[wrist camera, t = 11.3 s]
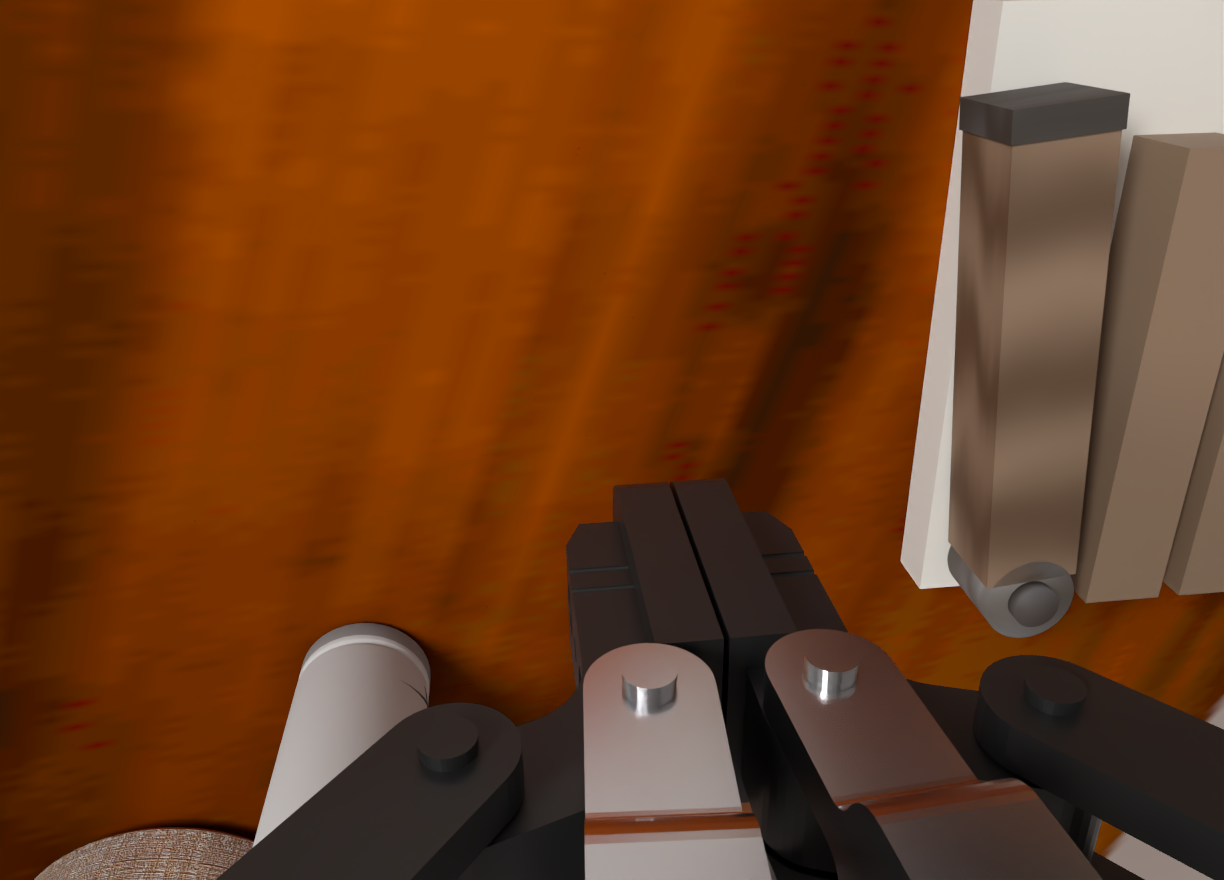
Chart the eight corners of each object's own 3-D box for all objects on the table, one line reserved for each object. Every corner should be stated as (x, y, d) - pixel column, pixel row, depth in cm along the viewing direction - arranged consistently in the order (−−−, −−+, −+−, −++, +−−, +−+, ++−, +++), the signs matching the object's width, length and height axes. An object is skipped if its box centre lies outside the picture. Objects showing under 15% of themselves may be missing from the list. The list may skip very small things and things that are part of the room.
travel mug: (456, 645, 49) (437, 1034, 31) (395, 737, 51) (342, 1153, 33) (340, 595, 47) (247, 980, 29) (281, 693, 49) (159, 1110, 31)
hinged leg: (960, 97, 37) (1020, 111, 33) (1065, 82, 38) (1138, 94, 33) (943, 593, 47) (987, 652, 43) (1026, 579, 48) (1079, 637, 43)
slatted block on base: (973, -1, 38) (1052, 2, 33) (1414, -10, 40) (1557, -8, 35) (900, 561, 50) (950, 632, 44) (1248, 534, 51) (1337, 599, 46)
